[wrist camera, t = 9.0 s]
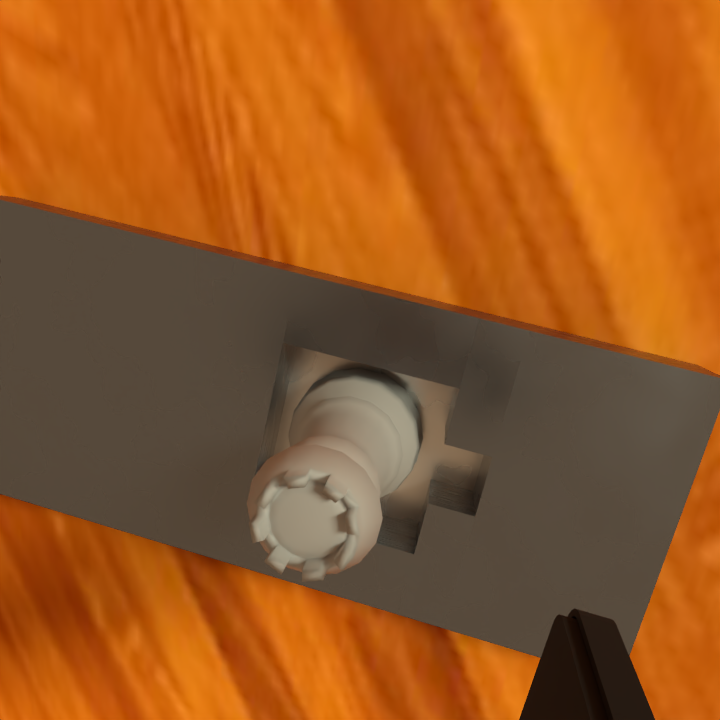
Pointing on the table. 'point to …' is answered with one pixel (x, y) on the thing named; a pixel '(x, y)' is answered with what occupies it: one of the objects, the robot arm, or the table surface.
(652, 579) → the pocket plate
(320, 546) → the rook chess piece
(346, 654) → the table surface
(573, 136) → the table surface
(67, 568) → the table surface
